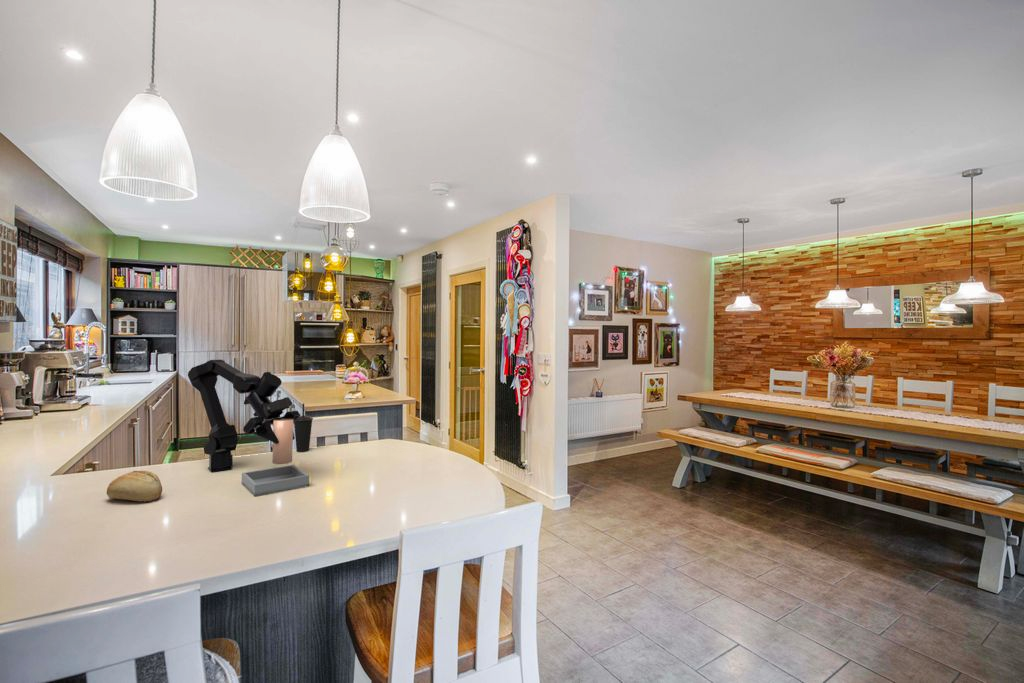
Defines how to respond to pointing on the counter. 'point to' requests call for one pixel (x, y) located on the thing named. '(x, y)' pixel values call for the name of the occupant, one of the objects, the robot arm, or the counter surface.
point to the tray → (274, 480)
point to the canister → (283, 441)
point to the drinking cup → (303, 432)
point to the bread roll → (135, 486)
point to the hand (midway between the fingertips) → (285, 441)
